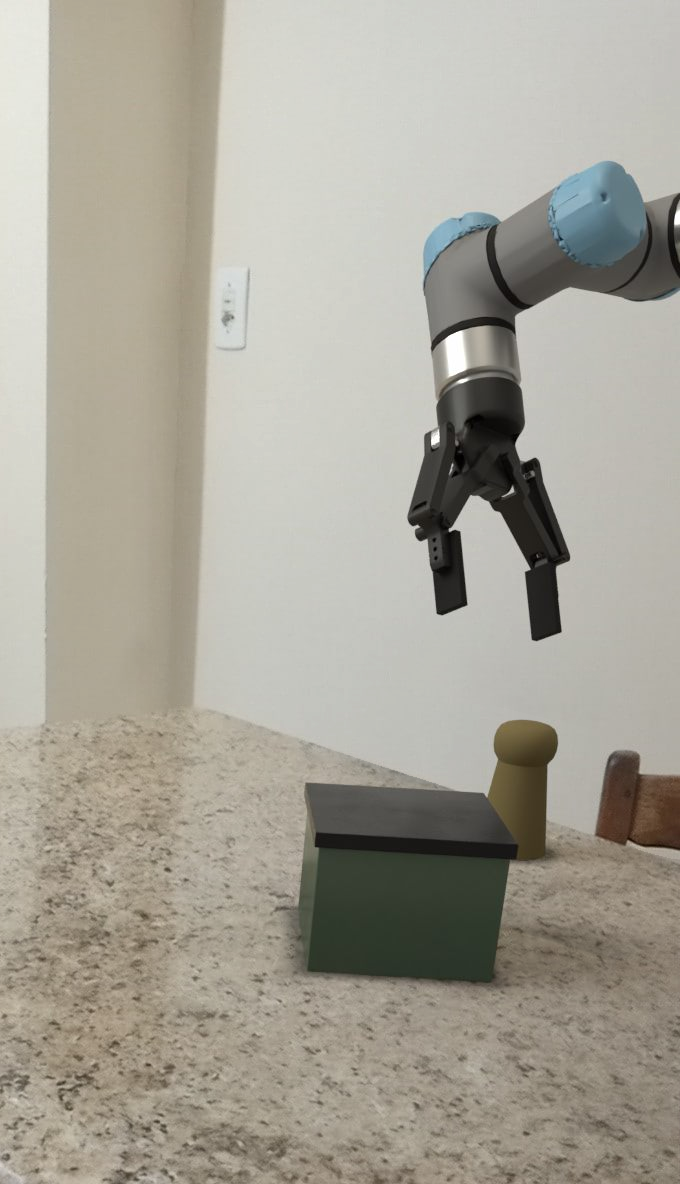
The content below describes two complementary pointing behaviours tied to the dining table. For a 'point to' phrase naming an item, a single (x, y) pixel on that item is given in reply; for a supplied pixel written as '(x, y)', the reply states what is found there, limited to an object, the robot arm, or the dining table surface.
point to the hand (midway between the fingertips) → (501, 624)
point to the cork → (523, 782)
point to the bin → (402, 882)
